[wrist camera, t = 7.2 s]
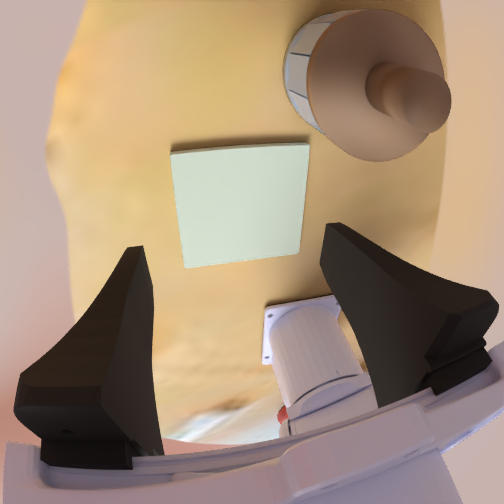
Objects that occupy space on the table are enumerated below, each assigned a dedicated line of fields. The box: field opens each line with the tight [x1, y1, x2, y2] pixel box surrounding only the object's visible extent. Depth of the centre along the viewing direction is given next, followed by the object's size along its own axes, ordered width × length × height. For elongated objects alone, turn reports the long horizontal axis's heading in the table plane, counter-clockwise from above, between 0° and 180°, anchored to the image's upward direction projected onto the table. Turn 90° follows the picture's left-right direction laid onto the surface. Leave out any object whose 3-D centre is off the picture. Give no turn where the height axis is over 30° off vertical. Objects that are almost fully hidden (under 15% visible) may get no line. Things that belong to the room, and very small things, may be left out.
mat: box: [170, 142, 310, 268], centre depth 22 cm, size 9×9×1 cm
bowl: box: [283, 9, 369, 135], centre depth 16 cm, size 9×9×4 cm
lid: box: [306, 10, 451, 162], centre depth 13 cm, size 9×9×4 cm
